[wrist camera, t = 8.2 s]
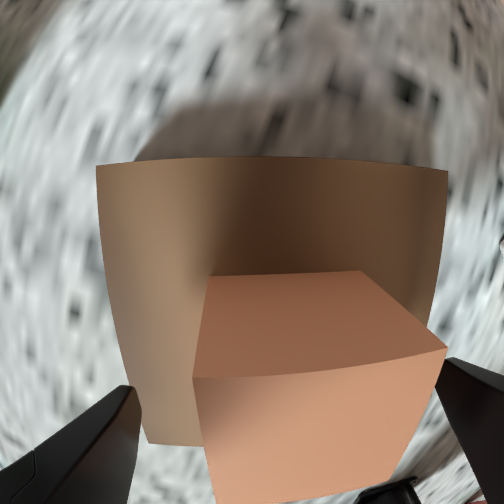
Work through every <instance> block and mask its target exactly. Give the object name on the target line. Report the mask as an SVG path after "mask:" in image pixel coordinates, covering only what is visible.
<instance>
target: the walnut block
mask: <svg viewBox="0 0 504 504" xmlns="http://www.w3.org/2000/svg"><path fill="white" fill-rule="evenodd" d="M96 183H97V201H98V215H99V226H100V236H101V245H102V253H103V261H104V268H105V275H106V281H107V287H108V293H109V299H110V304H111V310H112V315H113V320H114V324H115V329H116V334H117V338H118V342H119V347H120V351H121V355H122V359H123V363H124V367H125V370H126V374H127V378H128V381H129V385H130V386H133V387H135V389H136V391H137V394H138V398H139V401H140V405H141V408H142V418H141V423H142V426H143V429H144V432H145V435H146V437H147V440H148V443H150V444H161V445H176V446H199V447H204V445H203V439H202V434H201V429H200V423H199V418H198V412H197V406H196V400H195V394H194V387H193V381H192V375H193V368H194V361H195V355H196V349H197V342H198V336H199V330H200V324H201V318H202V312H203V306H204V301H205V295H206V289H207V284H208V278H209V276H238V275H269V274H296V273H320V272H341V271H362V272H363V273H364V274H365V275H367V276H368V277H369V278H370V279H371V280H373V281H374V282H375V283H376V284H377V285H379V286H380V287H381V288H382V289H383V290H384V291H386V292H387V293H388V294H389V295H390V296H391V297H393V298H394V299H395V300H396V301H397V302H398V303H399V304H401V305H402V306H403V307H404V308H405V309H406V310H407V311H409V312H410V313H411V314H412V315H413V316H414V317H415V318H416V319H418V320H419V321H420V322H421V323H422V324H423V325H424V326H425V327H427V323H428V319H429V315H430V311H431V306H432V301H433V297H434V292H435V287H436V281H437V276H438V270H439V264H440V257H441V251H442V243H443V235H444V226H445V216H446V204H447V187H448V171H445V170H438V169H431V168H424V167H417V166H409V165H400V164H391V163H381V162H371V161H359V160H346V159H330V158H310V157H276V156H231V157H197V158H177V159H161V160H148V161H136V162H126V163H116V164H107V165H98V166H96Z"/></svg>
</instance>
